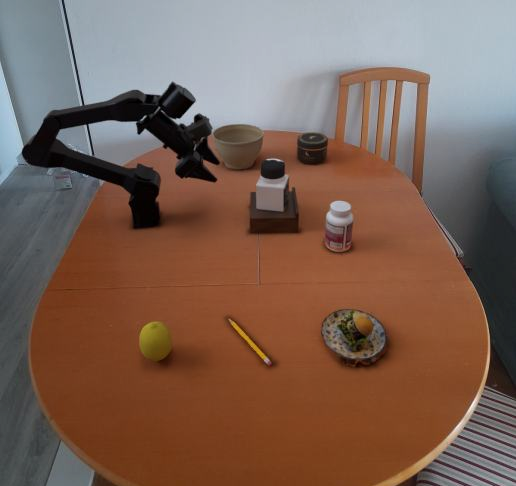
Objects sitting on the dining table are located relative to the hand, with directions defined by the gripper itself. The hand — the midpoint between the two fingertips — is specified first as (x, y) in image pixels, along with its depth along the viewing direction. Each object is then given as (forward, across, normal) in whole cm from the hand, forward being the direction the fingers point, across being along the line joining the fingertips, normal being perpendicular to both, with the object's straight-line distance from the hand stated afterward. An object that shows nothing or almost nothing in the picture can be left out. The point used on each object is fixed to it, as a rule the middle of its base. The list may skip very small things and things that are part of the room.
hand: (217, 172), depth 111 cm
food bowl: (+29, -41, -9) cm, 51 cm away
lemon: (+4, -44, +15) cm, 47 cm away
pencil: (+15, -41, +4) cm, 44 cm away
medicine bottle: (+16, -1, -3) cm, 17 cm away
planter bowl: (+12, +32, +7) cm, 35 cm away
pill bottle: (+30, -13, -11) cm, 34 cm away
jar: (+29, +35, -10) cm, 47 cm away
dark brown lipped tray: (+19, -1, 0) cm, 19 cm away
